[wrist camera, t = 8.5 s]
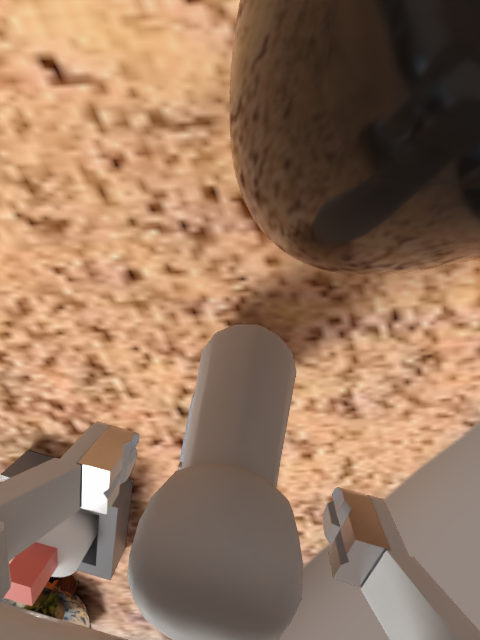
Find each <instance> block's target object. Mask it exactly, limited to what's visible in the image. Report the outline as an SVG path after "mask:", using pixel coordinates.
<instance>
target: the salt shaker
mask: <svg viewBox="0 0 480 640" xmlns="http://www.w3.org/2000/svg"><path fill="white" fill-rule="evenodd" d="M295 377H296V368H295V363H294V358H293V353H292V351H291V349H290V348H289V347H288V346H287V345H286V343H285V342H284V341H283V340H282V339H281V338H280V336H279V335H278V334H277V333H275V332H273V331H271V330H268V329H266V328H264V327H262V326H260V325H258V324H236V325H233V326H231V327H229V328H226V329H224V330H221V331H219V332H217V333H216V334H215V335H214V336H213V337H212V338H211V340H210V341H209V342H208V344H207V345H206V346H205V348H204V349H203V350H202V355H201V360H200V365H199V371H198V376H197V382H196V388H195V394H194V399H193V405H192V411H191V416H190V422H189V428H188V434H187V439H186V445H185V451H184V457H183V462H182V468H181V470H178V471H176V472H175V473H174V474H173V475H172V476H171V477H170V478H169V479H168V480H167V481H166V482H165V483H164V485H163V486H162V487H161V488H160V489H159V490H158V491H157V492H156V493H155V494H154V495H153V497H152V498H151V500H150V501H149V503H148V505H147V507H146V509H145V511H144V513H143V515H142V517H141V519H140V521H139V523H138V527H137V530H136V534H135V537H134V541H133V544H132V548H131V551H130V556H129V565H128V574H127V578H128V582H129V586H130V589H131V593H132V596H133V599H134V601H135V603H136V604H137V606H138V608H139V609H140V611H141V613H142V615H143V616H144V618H145V619H146V620H147V621H148V622H149V623H151V624H152V625H153V626H154V627H156V628H157V629H158V630H160V631H161V632H162V633H163V634H165V635H166V636H167V637H169V638H172V639H174V640H279V638H280V637H281V635H282V634H283V632H284V631H285V630H286V628H287V627H288V626H289V624H290V623H291V621H292V619H293V617H294V615H295V613H296V611H297V608H298V606H299V604H300V602H301V600H302V576H303V562H302V555H301V548H300V541H299V535H298V531H297V527H296V523H295V518H294V514H293V510H292V508H291V506H290V503H289V501H288V499H287V498H286V497H285V496H284V495H283V494H282V493H281V492H280V491H279V490H278V489H277V488H276V487H277V480H278V474H279V467H280V460H281V454H282V449H283V443H284V438H285V432H286V427H287V421H288V416H289V410H290V405H291V399H292V394H293V388H294V383H295Z"/></svg>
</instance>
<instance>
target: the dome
mask: <svg viewBox="0 0 480 640" xmlns="http://www.w3.org/2000/svg"><path fill="white" fill-rule="evenodd" d="M98 527H99V515H96V514H92V513H89V512H85V511H82V510H79V511H77V512H76V513H75V514H73V515H72V516H70V517H69V518H68V519H66V520H65V521H64V522H62V523H61V524H59V525H58V526H57V527H55V528H54V529H53V530H51V531H50V532H48V533H47V534H46V535H44V536H43V537H42V538H40V539H39V540H37V541H36V542H35V543H33V544H32V545H31V546H29V547H28V548H26V549H25V550H24V551H22V552H21V553H20V554H18V555H17V556H15V558H14V559H13V561H12V562H11V563H10V564H9V569H10V577H11V588H10V589H9V591H8V592H7V593H6V595H5V596H4V598H7V599H10V600H13V601H17V602H20V603H23V604H27V605H30V606H33V604H34V603H35V601H36V599H37V598H38V596H39V595H40V593H41V592H42V590H43V588H44V587H45V585H46V584H47V582H48V581H49V579H50V577H66V576H69V575H71V574H73V573H74V572H75V571H76V570H77V569H78V567H79V565H80V563H81V562H82V560H83V558H84V556H85V555H86V553H87V551H88V549H89V548H90V546H91V544H92V542H93V541H94V539H95V537H96V536H97V534H98Z"/></svg>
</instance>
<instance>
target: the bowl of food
mask: <svg viewBox="0 0 480 640" xmlns="http://www.w3.org/2000/svg"><path fill="white" fill-rule="evenodd" d="M78 581H79V580H78ZM78 581H75V579H74V578H73V576H66V577H60V578H59V579H58V580H55V581H54V582H49V581H48V582H47V584H46V585H45V587H44V588H43V590H42V592H41V593H40V595H39V596H38V598H37V599H36V601H35V603H34V604H33V606H30V605H27V604H23V603H20V602H17V601H13V600H10V599H7V598H3V599H2V600H1V602H4V603H7V604H10V605H14V606H17V607H20V608H24V609H27V610H30V611H34V612H37V613H40V614H44V615H47V616H51V617H54V618H57V619H61V620H64V621H67V622H71V623H74V624H77V625H81V626H84V627H87V628H91V625H90V620H89V615H88V612H87V608H86V607H85V605H84V603H83V602H82V601H81V600H80V599H79V597H78V596H76V595H75V590H76V588H77V585H78ZM91 629H92V628H91Z"/></svg>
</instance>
